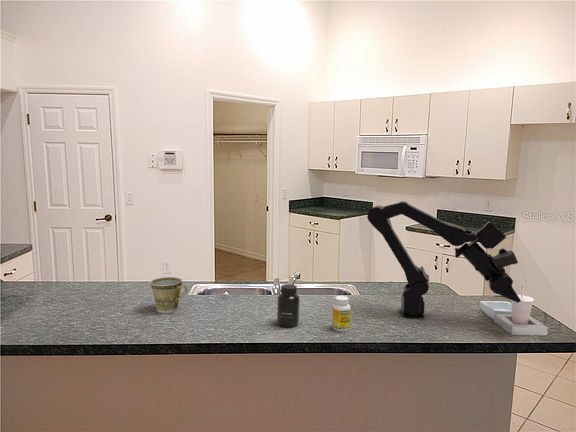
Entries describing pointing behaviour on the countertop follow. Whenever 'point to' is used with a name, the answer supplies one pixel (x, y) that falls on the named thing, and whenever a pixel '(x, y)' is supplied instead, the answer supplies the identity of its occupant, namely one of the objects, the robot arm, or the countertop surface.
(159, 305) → the ceramic cup
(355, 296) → the countertop surface
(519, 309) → the smoothie
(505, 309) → the tray
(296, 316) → the supplement bottle
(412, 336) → the countertop surface
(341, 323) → the supplement bottle
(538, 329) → the bore block
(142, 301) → the countertop surface
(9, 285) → the countertop surface
